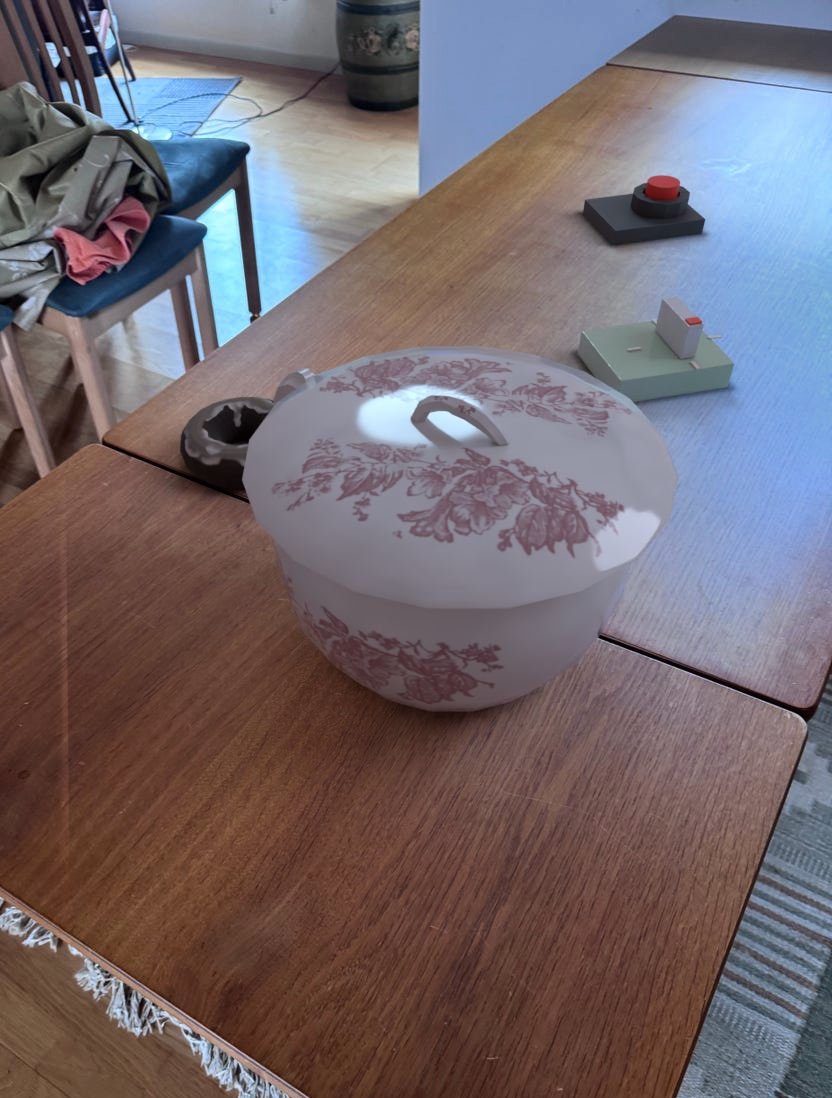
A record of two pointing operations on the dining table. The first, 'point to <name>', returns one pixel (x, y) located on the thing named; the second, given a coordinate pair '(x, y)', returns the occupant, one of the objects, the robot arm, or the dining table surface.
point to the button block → (643, 217)
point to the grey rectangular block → (679, 327)
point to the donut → (222, 439)
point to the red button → (662, 187)
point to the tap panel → (651, 362)
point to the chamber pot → (456, 516)
